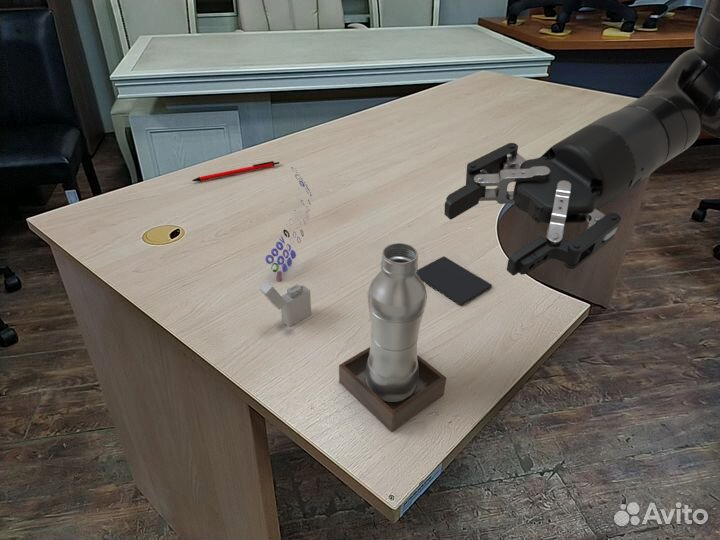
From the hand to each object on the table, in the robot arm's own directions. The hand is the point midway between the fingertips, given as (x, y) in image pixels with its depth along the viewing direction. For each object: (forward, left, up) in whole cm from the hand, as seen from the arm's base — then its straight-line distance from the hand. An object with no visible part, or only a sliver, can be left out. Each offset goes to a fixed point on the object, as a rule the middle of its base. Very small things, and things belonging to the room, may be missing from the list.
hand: (477, 237), depth 47 cm
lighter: (+25, +6, -24) cm, 35 cm away
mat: (+17, -19, -24) cm, 35 cm away
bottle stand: (+7, +3, -24) cm, 25 cm away
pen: (+71, -12, -24) cm, 76 cm away
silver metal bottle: (+7, +3, -24) cm, 25 cm away
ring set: (+42, -7, -24) cm, 49 cm away
